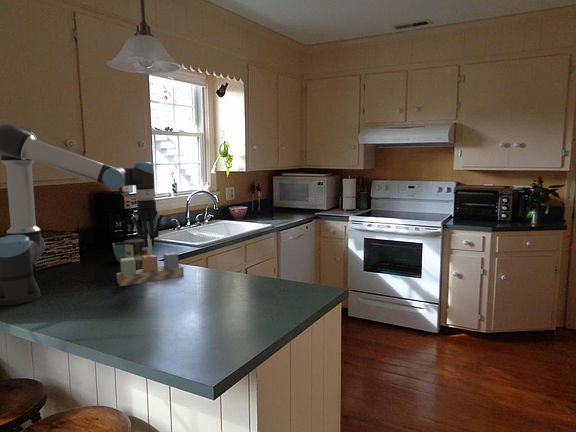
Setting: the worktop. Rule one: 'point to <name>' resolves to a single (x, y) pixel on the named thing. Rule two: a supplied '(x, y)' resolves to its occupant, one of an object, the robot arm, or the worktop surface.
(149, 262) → the terracotta block
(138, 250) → the coffee can
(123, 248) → the flower pot
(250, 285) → the worktop surface
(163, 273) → the socket rail
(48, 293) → the worktop surface
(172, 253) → the slate block
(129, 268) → the sage block
